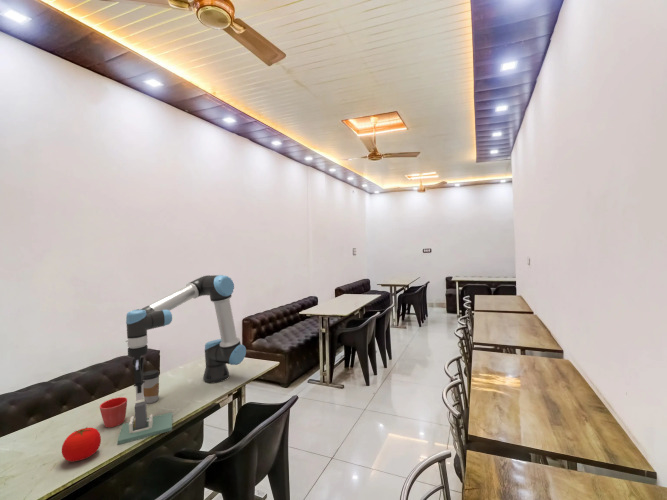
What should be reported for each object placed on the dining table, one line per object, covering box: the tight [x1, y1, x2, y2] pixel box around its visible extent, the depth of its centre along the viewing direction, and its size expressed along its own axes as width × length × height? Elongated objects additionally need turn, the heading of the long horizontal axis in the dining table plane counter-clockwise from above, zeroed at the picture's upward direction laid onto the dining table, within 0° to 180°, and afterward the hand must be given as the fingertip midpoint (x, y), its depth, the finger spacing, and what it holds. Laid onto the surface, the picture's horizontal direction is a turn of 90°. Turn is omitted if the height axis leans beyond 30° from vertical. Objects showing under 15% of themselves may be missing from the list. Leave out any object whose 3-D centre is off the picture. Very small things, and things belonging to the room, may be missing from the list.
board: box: [116, 411, 173, 446], centre depth 142 cm, size 20×15×6 cm
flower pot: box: [99, 396, 128, 429], centre depth 149 cm, size 11×11×10 cm
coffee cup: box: [143, 369, 160, 404], centre depth 170 cm, size 8×8×15 cm
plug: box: [134, 400, 148, 430], centre depth 141 cm, size 5×4×10 cm
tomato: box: [61, 426, 102, 463], centre depth 124 cm, size 12×12×10 cm
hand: (140, 399), depth 141 cm, fingers closed
